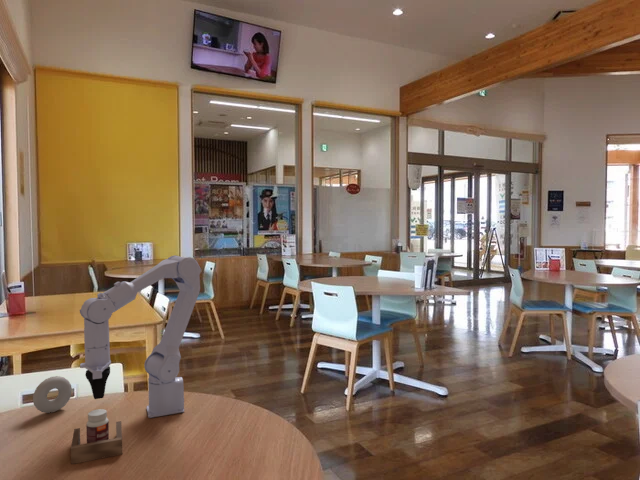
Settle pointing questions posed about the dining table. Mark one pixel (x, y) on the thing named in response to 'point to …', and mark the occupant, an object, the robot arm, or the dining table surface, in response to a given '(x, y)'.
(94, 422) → the pill bottle
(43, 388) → the donut
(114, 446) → the brown u-shaped block
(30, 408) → the dining table surface
